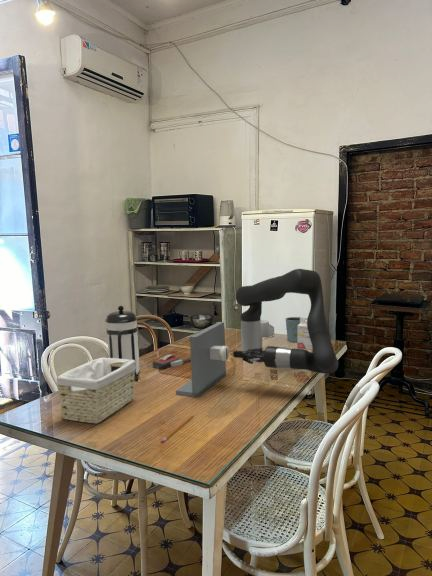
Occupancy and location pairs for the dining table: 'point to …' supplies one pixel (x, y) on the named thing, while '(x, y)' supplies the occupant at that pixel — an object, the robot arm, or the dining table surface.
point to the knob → (224, 353)
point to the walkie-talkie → (168, 362)
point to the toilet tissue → (266, 329)
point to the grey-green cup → (292, 328)
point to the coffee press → (123, 337)
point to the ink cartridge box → (303, 335)
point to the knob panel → (205, 360)
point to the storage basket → (96, 389)
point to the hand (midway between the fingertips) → (233, 353)
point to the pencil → (176, 429)
